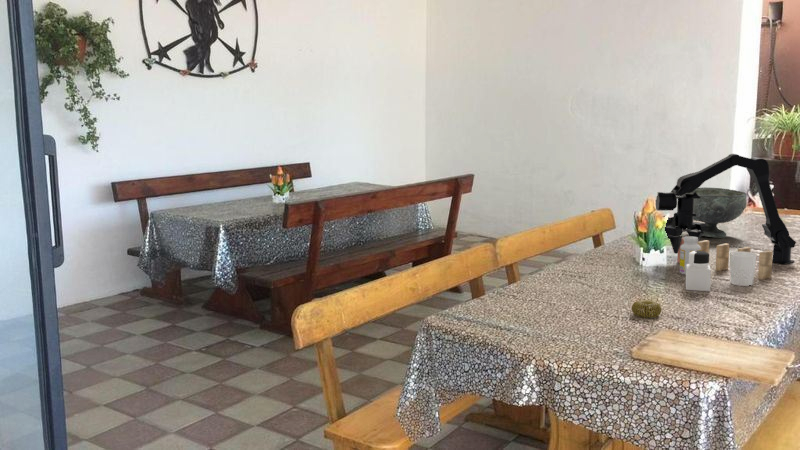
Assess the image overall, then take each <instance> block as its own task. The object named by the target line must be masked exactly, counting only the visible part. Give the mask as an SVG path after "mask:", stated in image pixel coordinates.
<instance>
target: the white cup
mask: <svg viewBox="0 0 800 450" xmlns="http://www.w3.org/2000/svg"><path fill="white" fill-rule="evenodd" d="M757 256H758V255H757V253H754V252H751V251H750V252H737V251H732V252H729V275H730V277H729V279H730V280H729V281H730V284H732V285H734V286H738V287H739V286H740V287H750V286H749V285H751V286H753V285H754V280H755V279H754V277H755V273H756V266H757V265H756V264H757Z"/></svg>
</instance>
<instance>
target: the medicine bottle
mask: <svg viewBox="0 0 800 450" xmlns="http://www.w3.org/2000/svg"><path fill="white" fill-rule="evenodd" d="M711 279H712V269H711V265H710V252H709V253H707V252H704V251H692V252H690V253H689V264H686V275H685V290H686V291H695V292H696V291H697V292H700V291H701V292H710V291H711V284H712V283H711V281H712V280H711Z"/></svg>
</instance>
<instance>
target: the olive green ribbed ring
mask: <svg viewBox="0 0 800 450" xmlns="http://www.w3.org/2000/svg"><path fill="white" fill-rule="evenodd" d="M631 311H632V313H633V314H634V315H635V316H636V317H639V318H642V319H653V318H657V317H658V316H659V315H661V313H662V307H661V304H660V303H658V302H656V301H654V300H650V299H642V300H641V299H640V300H637V301H634V303H632V305H631Z"/></svg>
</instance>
